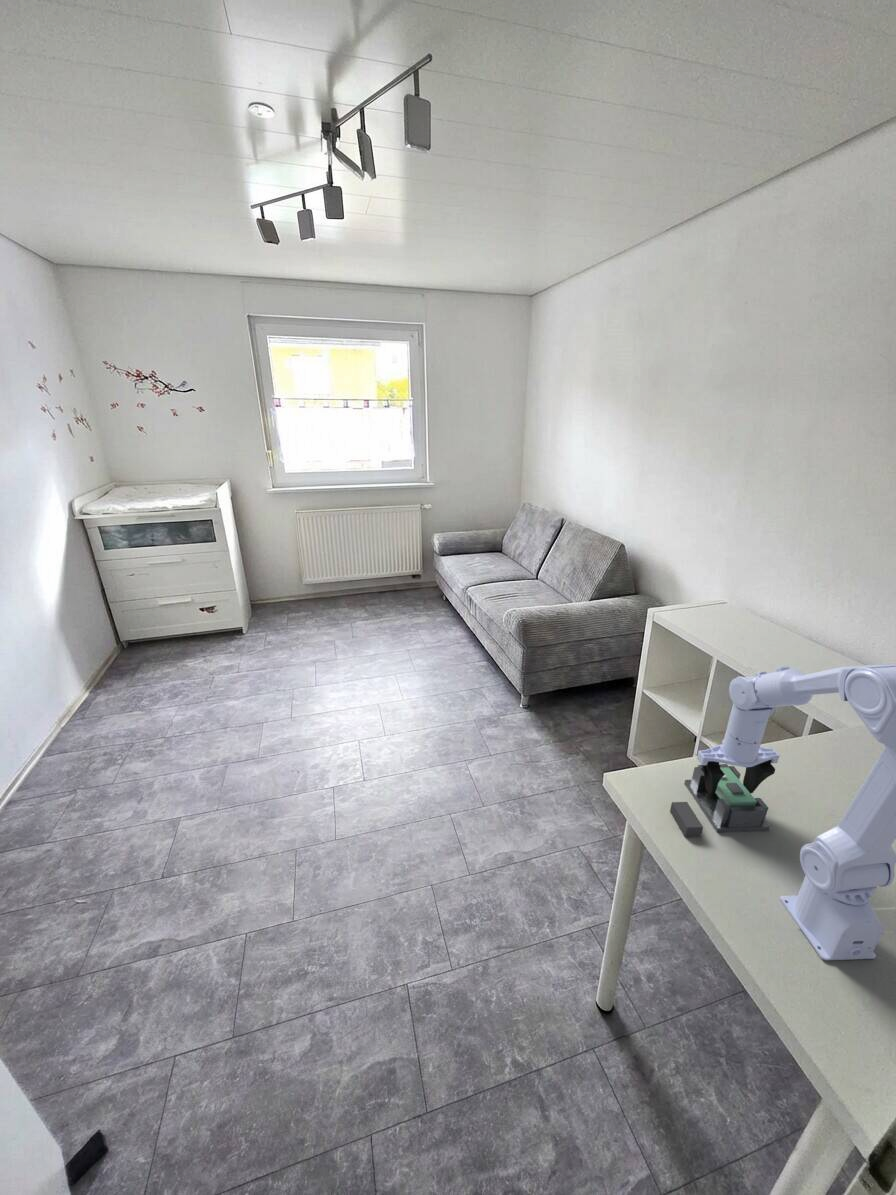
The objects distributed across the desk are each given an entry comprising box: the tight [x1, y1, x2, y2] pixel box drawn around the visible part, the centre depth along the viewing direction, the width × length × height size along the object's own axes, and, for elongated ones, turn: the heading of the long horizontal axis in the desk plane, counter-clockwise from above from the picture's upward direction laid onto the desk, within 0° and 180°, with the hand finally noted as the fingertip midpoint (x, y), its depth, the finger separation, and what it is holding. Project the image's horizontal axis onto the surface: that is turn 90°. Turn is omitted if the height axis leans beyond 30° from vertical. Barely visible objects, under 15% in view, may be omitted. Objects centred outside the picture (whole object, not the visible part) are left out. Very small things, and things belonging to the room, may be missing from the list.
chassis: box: [684, 763, 771, 833], centre depth 94 cm, size 10×12×5 cm
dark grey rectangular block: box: [669, 801, 704, 838], centre depth 90 cm, size 6×3×2 cm, turn 2°
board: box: [715, 767, 757, 808], centre depth 93 cm, size 5×9×3 cm, turn 2°
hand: (728, 790), depth 93 cm, fingers open, 7 cm apart
